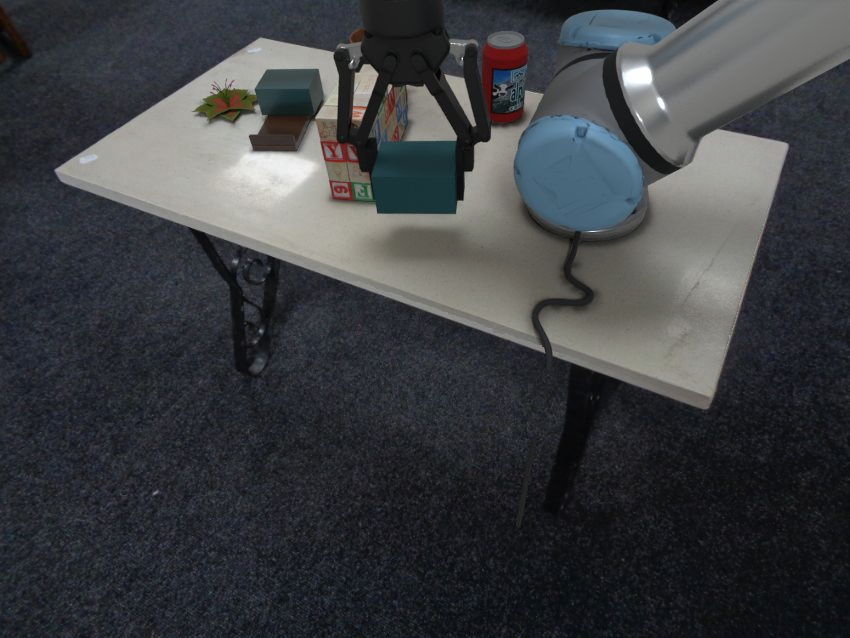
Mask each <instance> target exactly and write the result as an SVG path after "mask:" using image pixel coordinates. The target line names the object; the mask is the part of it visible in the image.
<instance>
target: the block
mask: <svg viewBox="0 0 850 638" xmlns="http://www.w3.org/2000/svg"><path fill="white" fill-rule="evenodd" d="M455 149H456V140H400V141H381V143H380V146H379V150H378V154H377V157H376V161H375V165H374V168H373V171H372V175H371V179H372V185H373V191H374V197H375V201H374V202H375V209H376V214H378V215H379V214H380V215H457V210H458V209H457V208H458V201H457V178H456V155H455Z"/></svg>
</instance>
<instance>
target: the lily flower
mask: <svg viewBox="0 0 850 638" xmlns="http://www.w3.org/2000/svg"><path fill="white" fill-rule="evenodd" d="M235 81H236V80H235V79H233V80H231V81H230V83H229V85H228V86H227V82H228V78H226V79H225V84H224V85H225V87H222V88H221V87H220V86H219V85H218V83H217V82H216V81H215V80H213V81H212V82H213V83H214V84H213V83H212V84H211V87H212V90H214V91H216V92H217V93H214V92H213V91H209V93H210V94H211V95H209V96H207V97H204V98H202V101H203V102H204V103H203V104H200V105H199V106H198V107H196V108H195V109H194V110H192V111H191V113H206V121H207V122H208V121H209V120H211V119H212V118H214V117H215V116H217V115H220V116H221V117H223V118H225V119H227V120H230V121H231V122H233V121H234V120H235V119H236V117H238V115H239V114H240V113H241V111H242V110H251V111H256V108H255V106H254V105H253V103H254V102H255V101H258V100H257V97H256V94H253V93H252V94H248V91H249V90H250V89H244V88H243V89H241V88H235V87H234V88H233V89H230V88H231V87H232V86H233V84H232V83H234V82H235Z"/></svg>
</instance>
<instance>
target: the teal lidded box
mask: <svg viewBox="0 0 850 638" xmlns="http://www.w3.org/2000/svg"><path fill="white" fill-rule="evenodd" d="M254 93H255V95H256V97H257V100H256V101H257V103H258V106H259V110H260V113H261V116H266V118H265V120H264V122H263V124H262V126H261V127H260V129H259V131H258V133H256V134H253V133H252V134H249V135H248V139H249V142H250V144H251V148H252V151H254V152H255V151H256V152H258V151H259V152H261V151H264V152H267V151H268V152H270V151H271V152H273V151H274V152H275V151H277V152H281V151H282V152H292V151H293V152H295V151H297V150H298V148H299V146H300V144H301V142H302V140H303V137H304V135H305V133H306V131H307V128H308V126H309V124H310V121H311V119H312V117H313V116H316V113H317V111H318V109H319V107H320V104H321V102H322V100H323V97H324V94H325V93H324V89H323V84H322V78H321V73H320V69H319V68H268V69H267V68H266V69H265V71H264V73H263V74H262V76H261V78H260V79H259V80H258V82H257V84H256V86H255V87H254Z"/></svg>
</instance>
